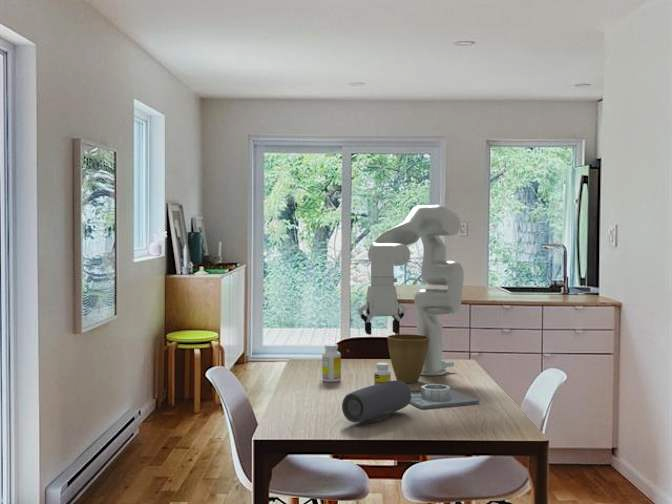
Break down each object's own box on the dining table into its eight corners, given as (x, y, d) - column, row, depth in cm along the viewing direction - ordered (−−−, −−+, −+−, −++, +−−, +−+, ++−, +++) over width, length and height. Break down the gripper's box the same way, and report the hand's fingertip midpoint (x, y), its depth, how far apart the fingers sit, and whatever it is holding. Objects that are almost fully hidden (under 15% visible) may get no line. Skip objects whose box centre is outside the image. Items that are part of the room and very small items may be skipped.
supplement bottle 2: (371, 393, 259) (371, 364, 258) (378, 390, 264) (378, 361, 263) (386, 395, 256) (386, 365, 256) (393, 392, 261) (393, 362, 261)
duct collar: (448, 390, 263) (448, 378, 263) (479, 403, 244) (479, 390, 244) (394, 395, 256) (394, 383, 256) (421, 409, 237) (421, 396, 237)
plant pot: (415, 387, 268) (415, 341, 268) (379, 382, 277) (379, 337, 277) (436, 380, 280) (437, 335, 279) (401, 375, 289) (401, 332, 288)
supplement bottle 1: (341, 378, 283) (341, 343, 283) (340, 382, 277) (340, 346, 276) (323, 378, 284) (323, 343, 284) (321, 382, 277) (321, 346, 277)
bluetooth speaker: (387, 409, 237) (387, 376, 237) (412, 413, 232) (412, 380, 231) (340, 424, 220) (339, 389, 220) (366, 429, 214) (366, 393, 214)
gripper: (401, 280, 265) (401, 330, 266) (353, 281, 259) (353, 333, 260) (410, 282, 258) (410, 333, 258) (362, 283, 252) (362, 336, 253)
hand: (382, 333), depth 259 cm, fingers open, 9 cm apart
